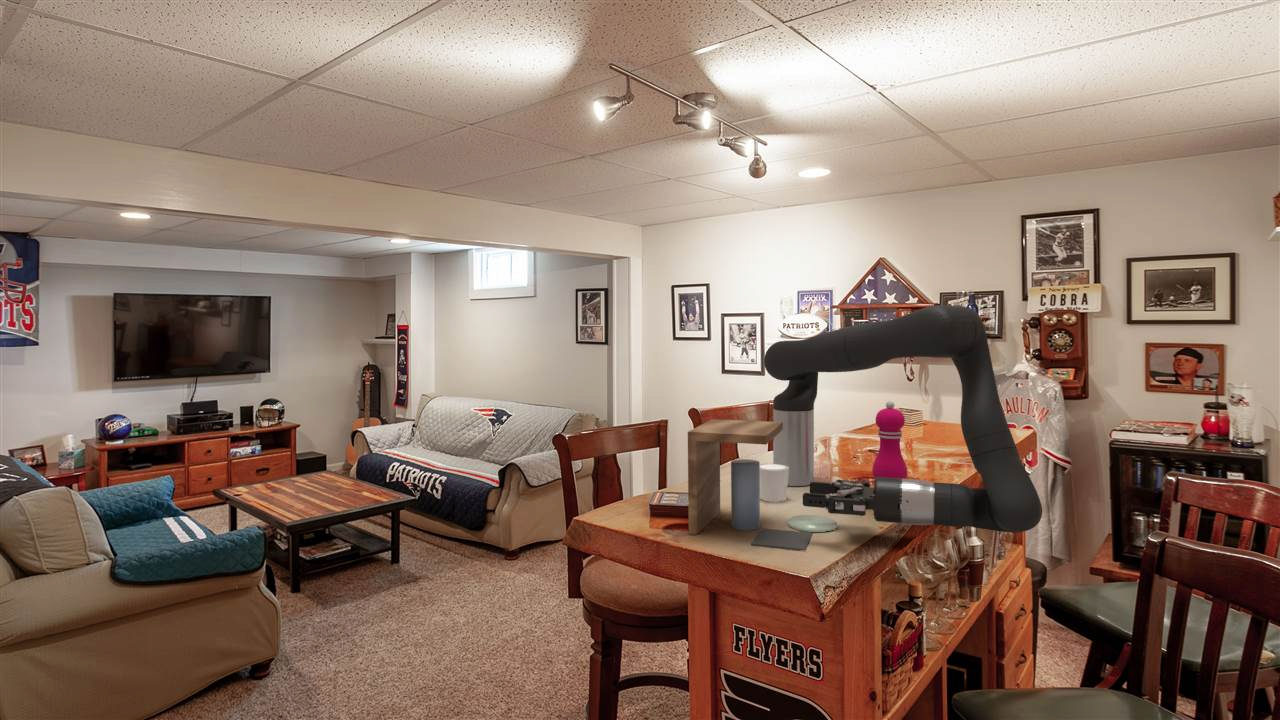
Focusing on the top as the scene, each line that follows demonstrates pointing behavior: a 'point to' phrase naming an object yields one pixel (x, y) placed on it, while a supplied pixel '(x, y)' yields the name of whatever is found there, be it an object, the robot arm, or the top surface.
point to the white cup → (773, 482)
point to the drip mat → (782, 539)
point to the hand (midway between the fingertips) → (806, 493)
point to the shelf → (716, 462)
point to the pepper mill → (889, 444)
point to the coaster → (812, 523)
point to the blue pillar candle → (745, 494)
